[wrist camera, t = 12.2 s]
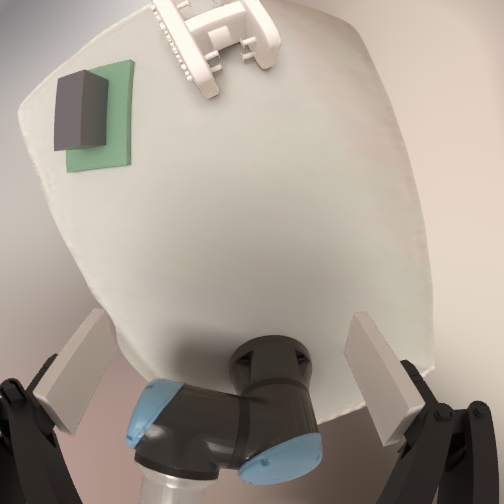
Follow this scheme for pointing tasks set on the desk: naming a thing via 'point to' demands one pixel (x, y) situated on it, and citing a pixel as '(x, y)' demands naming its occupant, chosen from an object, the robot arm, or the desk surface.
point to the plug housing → (80, 111)
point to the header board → (110, 122)
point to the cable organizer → (217, 36)
